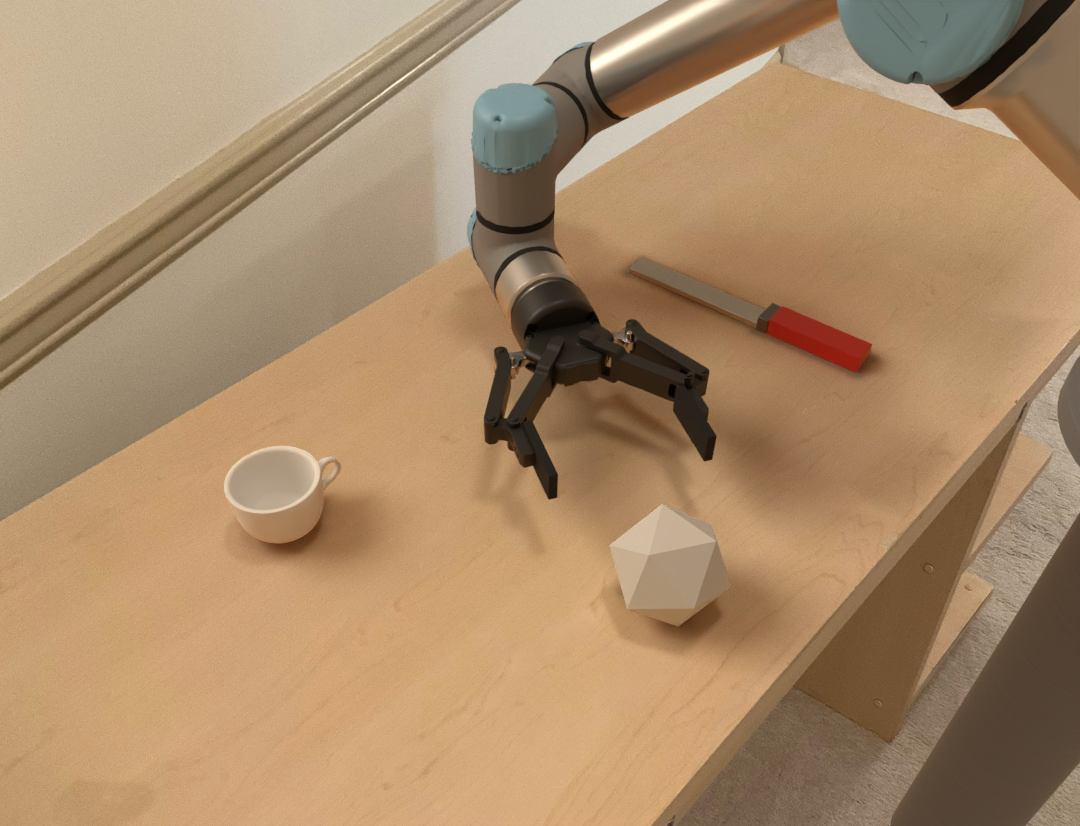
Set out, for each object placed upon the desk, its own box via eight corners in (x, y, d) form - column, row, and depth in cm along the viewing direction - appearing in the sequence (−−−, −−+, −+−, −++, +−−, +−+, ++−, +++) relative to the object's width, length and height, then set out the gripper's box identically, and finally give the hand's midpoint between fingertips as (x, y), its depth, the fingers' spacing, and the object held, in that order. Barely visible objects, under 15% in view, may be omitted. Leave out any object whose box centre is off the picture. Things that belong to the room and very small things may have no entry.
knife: (868, 357, 101) (873, 343, 100) (855, 373, 100) (859, 358, 98) (642, 260, 112) (643, 246, 110) (627, 273, 110) (628, 259, 109)
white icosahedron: (744, 607, 82) (730, 486, 80) (716, 647, 74) (701, 515, 72) (644, 608, 86) (628, 493, 83) (608, 647, 78) (589, 521, 76)
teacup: (267, 571, 83) (253, 529, 79) (221, 517, 87) (206, 474, 83) (369, 514, 88) (361, 470, 83) (321, 464, 91) (311, 420, 87)
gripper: (666, 318, 100) (764, 465, 87) (420, 370, 95) (486, 535, 82) (675, 252, 94) (781, 400, 81) (413, 304, 89) (482, 470, 76)
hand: (633, 468), depth 82 cm, fingers open, 13 cm apart
